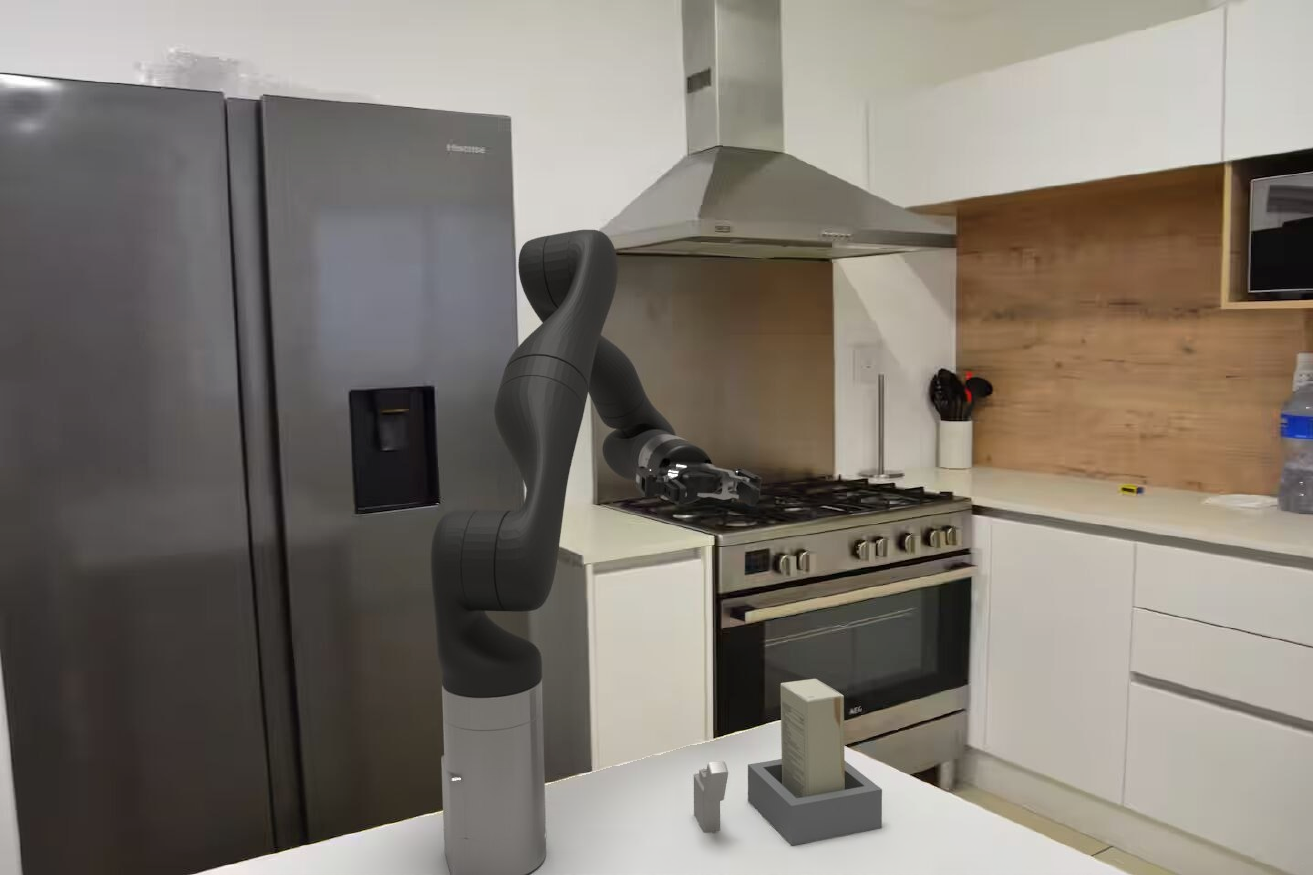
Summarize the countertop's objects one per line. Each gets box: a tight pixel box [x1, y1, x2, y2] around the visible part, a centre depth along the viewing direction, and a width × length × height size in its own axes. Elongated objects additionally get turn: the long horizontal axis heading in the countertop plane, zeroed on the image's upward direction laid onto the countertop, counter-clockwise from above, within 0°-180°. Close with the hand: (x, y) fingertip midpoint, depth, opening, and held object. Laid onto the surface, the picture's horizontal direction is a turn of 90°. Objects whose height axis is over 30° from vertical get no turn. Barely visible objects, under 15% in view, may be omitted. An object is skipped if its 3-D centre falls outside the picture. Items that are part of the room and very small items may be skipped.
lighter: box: [693, 760, 729, 834], centre depth 98 cm, size 7×2×8 cm, turn 12°
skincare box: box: [780, 678, 846, 798], centre depth 101 cm, size 6×4×12 cm
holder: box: [747, 758, 883, 847], centre depth 101 cm, size 10×10×4 cm
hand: (719, 497), depth 110 cm, fingers open, 8 cm apart
